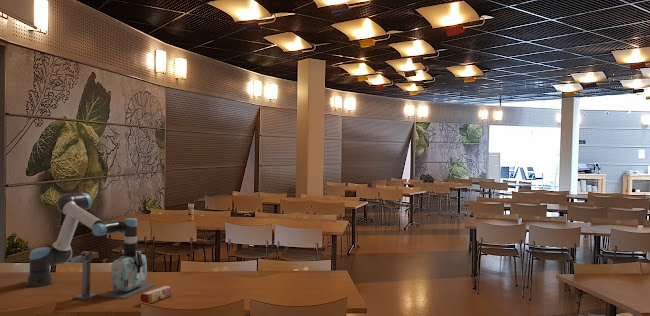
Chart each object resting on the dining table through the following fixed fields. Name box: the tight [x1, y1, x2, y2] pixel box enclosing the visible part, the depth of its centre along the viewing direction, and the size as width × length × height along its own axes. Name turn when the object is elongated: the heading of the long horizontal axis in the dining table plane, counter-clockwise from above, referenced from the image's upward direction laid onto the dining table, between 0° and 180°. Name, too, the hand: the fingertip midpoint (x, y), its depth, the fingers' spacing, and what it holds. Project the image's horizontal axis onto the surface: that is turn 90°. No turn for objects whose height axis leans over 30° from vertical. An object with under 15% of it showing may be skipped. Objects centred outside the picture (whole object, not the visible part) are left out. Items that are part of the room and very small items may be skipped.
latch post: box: [72, 250, 100, 301], centre depth 290 cm, size 10×10×28 cm
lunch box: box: [111, 253, 148, 291], centre depth 306 cm, size 27×10×21 cm, turn 168°
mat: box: [101, 283, 156, 300], centre depth 306 cm, size 16×32×1 cm, turn 166°
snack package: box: [139, 285, 173, 304], centre depth 288 cm, size 21×7×7 cm, turn 158°
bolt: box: [70, 251, 100, 264], centre depth 288 cm, size 6×18×3 cm, turn 166°
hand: (129, 277), depth 306 cm, fingers closed on lunch box, 10 cm apart
